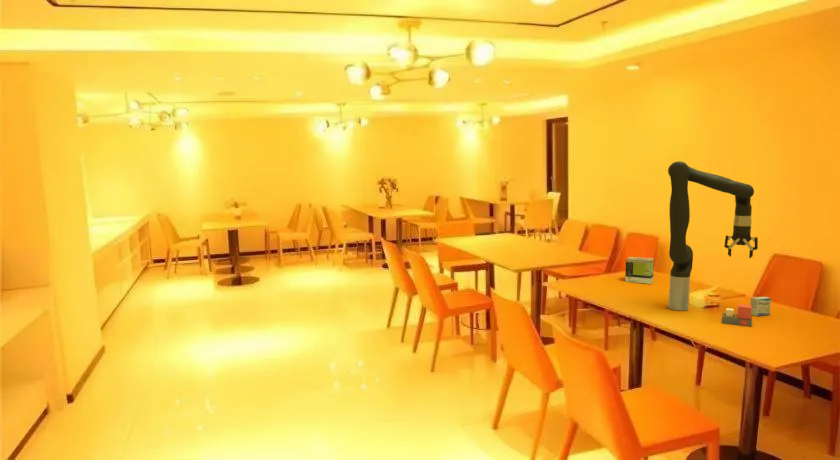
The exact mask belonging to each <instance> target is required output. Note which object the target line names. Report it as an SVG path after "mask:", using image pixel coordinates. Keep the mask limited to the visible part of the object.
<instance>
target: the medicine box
mask: <svg viewBox="0 0 840 460" xmlns="http://www.w3.org/2000/svg"><path fill="white" fill-rule="evenodd" d="M771 301H772V300H771V298H770V297H769V296H768V297H767V296H754V297H750V304H749V305H751V316H755V317H764V316H766V317H767V316H770V315H771Z"/></svg>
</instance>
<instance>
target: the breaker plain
mask: <svg viewBox="0 0 840 460" xmlns="http://www.w3.org/2000/svg"><path fill="white" fill-rule="evenodd" d="M725 313H726V316H728V317H733V314H734V308H728V307H727V308H726V309H725Z"/></svg>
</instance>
